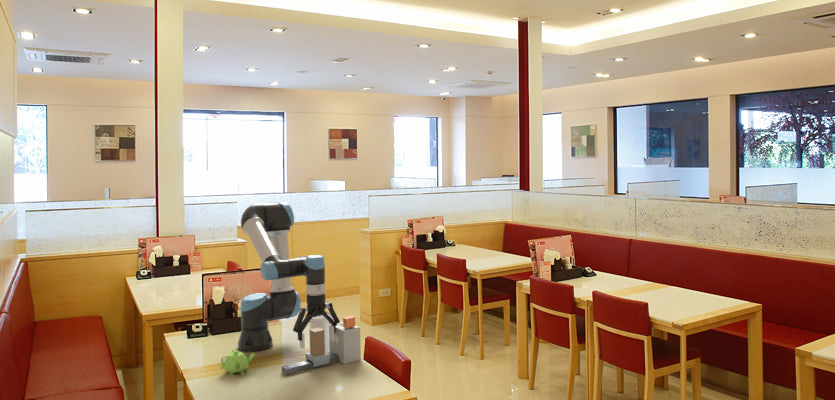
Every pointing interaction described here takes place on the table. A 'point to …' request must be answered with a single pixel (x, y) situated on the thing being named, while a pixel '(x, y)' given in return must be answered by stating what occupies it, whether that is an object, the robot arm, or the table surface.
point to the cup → (323, 324)
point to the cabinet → (346, 343)
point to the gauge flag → (349, 322)
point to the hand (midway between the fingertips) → (317, 344)
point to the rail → (306, 365)
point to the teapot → (236, 362)
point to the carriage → (317, 348)
